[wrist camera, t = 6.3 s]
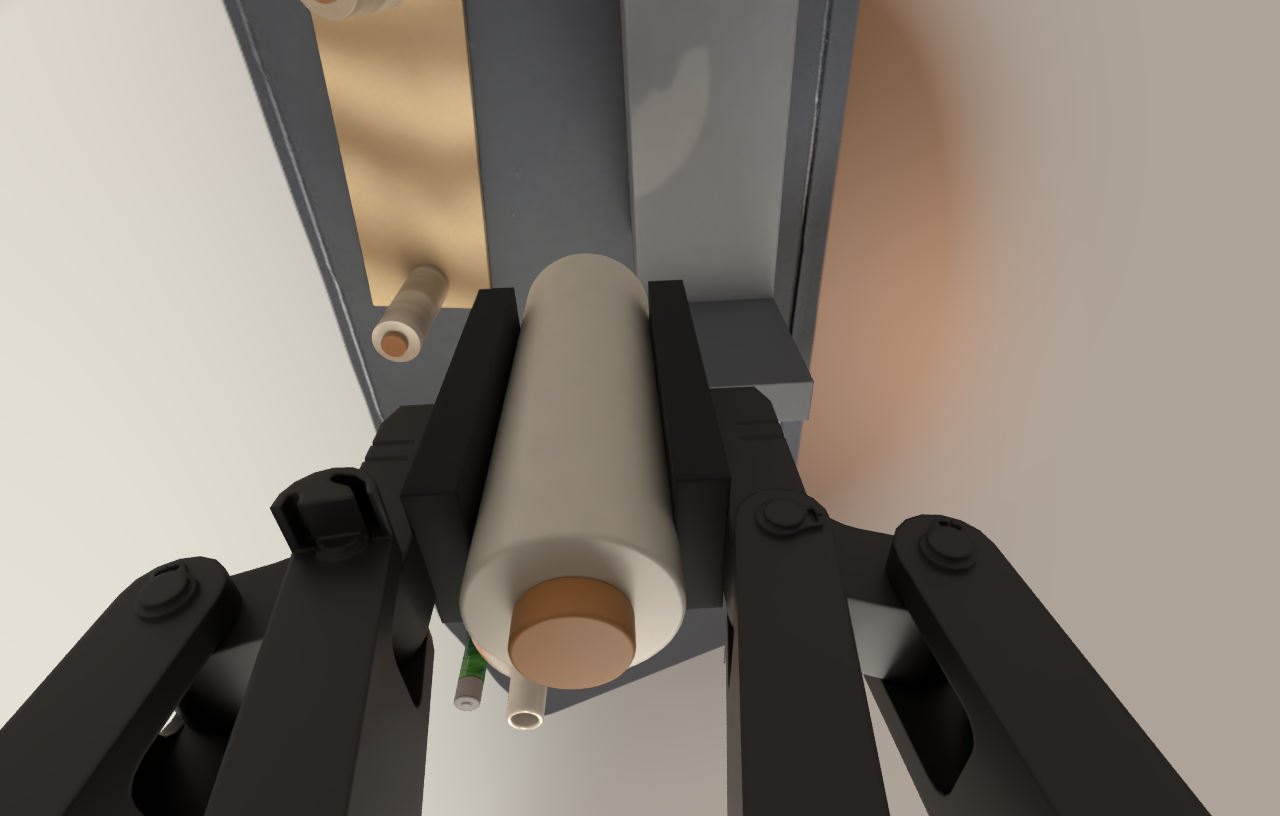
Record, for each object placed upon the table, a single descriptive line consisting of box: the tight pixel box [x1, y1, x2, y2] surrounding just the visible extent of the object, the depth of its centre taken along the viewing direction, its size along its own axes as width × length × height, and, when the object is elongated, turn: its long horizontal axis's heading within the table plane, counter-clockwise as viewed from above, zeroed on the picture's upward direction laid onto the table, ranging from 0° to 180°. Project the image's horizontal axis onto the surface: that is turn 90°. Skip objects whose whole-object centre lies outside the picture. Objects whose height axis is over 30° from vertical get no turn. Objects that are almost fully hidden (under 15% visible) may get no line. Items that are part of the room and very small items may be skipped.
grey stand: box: [620, 0, 814, 422], centre depth 31 cm, size 21×7×24 cm, turn 2°
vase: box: [470, 635, 547, 730], centre depth 59 cm, size 14×14×18 cm
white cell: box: [459, 254, 687, 689], centre depth 12 cm, size 3×3×10 cm
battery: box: [454, 633, 487, 711], centre depth 69 cm, size 3×3×10 cm
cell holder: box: [301, 0, 492, 362], centre depth 39 cm, size 23×9×10 cm, turn 177°
